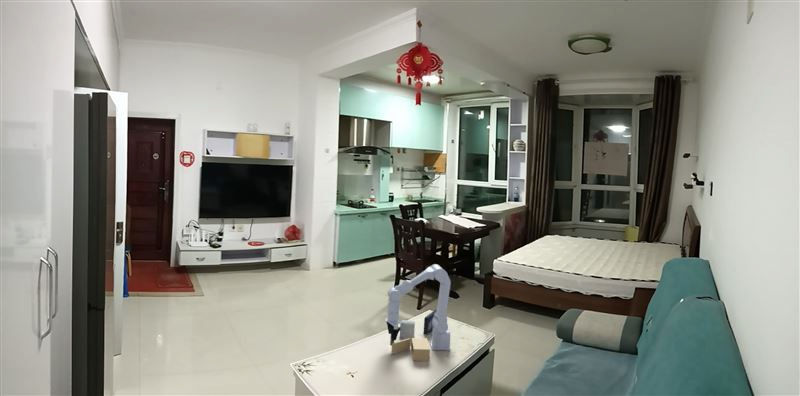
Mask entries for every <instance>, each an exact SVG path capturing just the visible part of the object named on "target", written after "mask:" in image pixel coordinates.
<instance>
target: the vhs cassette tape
mask: <svg viewBox="0 0 800 396" xmlns="http://www.w3.org/2000/svg"><path fill="white" fill-rule="evenodd" d="M436 311H437V308H436V309H435V310H433V311H432V312H431V313H429V314H428V315H426V316H425V317H424V320H423V334H424V335H429V334H430V333H433V327H434V325H433V324H432V319H433V317H434V314H435V312H436Z"/></svg>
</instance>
